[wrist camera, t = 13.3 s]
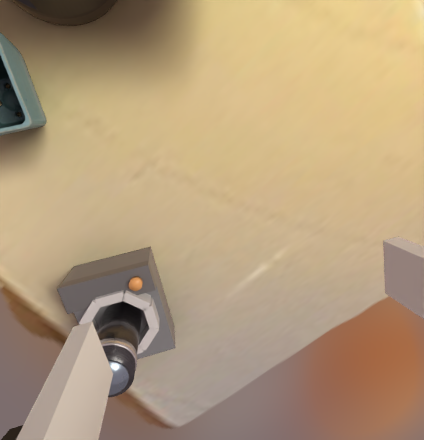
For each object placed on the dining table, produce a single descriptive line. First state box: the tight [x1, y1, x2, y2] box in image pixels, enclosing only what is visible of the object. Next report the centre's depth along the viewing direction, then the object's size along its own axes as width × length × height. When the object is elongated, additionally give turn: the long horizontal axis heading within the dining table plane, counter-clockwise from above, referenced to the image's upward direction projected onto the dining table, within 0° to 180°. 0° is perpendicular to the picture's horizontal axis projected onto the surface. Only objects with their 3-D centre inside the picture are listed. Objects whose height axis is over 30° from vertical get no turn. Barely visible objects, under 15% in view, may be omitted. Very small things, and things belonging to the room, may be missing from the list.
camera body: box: [57, 247, 175, 359], centre depth 39 cm, size 14×11×7 cm
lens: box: [97, 301, 142, 397], centre depth 32 cm, size 5×5×10 cm
